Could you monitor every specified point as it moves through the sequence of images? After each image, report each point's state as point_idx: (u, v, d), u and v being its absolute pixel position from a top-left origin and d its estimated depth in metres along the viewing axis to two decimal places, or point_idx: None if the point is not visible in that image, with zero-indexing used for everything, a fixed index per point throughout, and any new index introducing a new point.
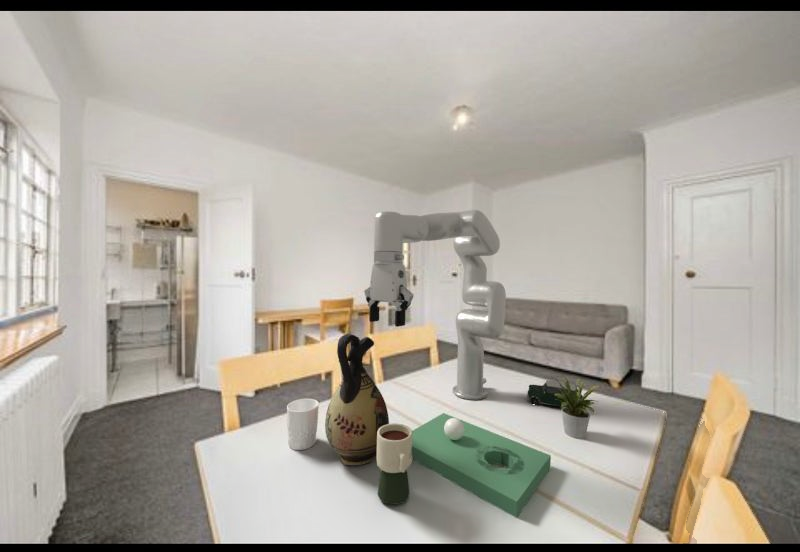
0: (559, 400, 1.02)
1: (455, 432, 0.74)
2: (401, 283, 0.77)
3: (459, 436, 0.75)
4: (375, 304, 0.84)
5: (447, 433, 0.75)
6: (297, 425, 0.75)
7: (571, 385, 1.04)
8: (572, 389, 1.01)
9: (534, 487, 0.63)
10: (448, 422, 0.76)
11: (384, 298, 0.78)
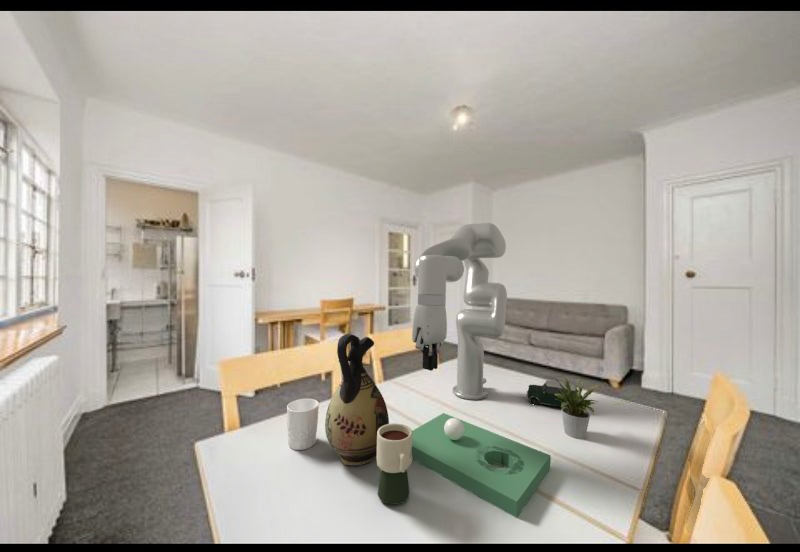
0: (559, 400, 1.02)
1: (455, 432, 0.74)
2: None
3: (459, 436, 0.75)
4: None
5: (447, 433, 0.75)
6: (297, 425, 0.75)
7: (571, 385, 1.04)
8: (572, 389, 1.01)
9: (534, 487, 0.63)
10: (448, 422, 0.76)
11: (439, 339, 0.81)
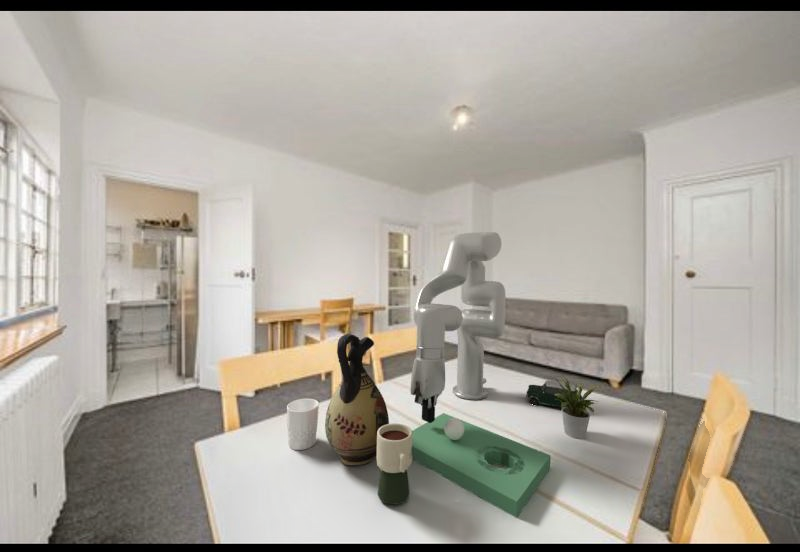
0: (558, 400, 1.01)
1: (455, 432, 0.74)
2: None
3: (459, 436, 0.75)
4: None
5: (447, 433, 0.75)
6: (297, 425, 0.75)
7: (570, 385, 1.03)
8: (571, 389, 1.01)
9: (534, 487, 0.63)
10: (448, 422, 0.76)
11: (437, 391, 0.81)
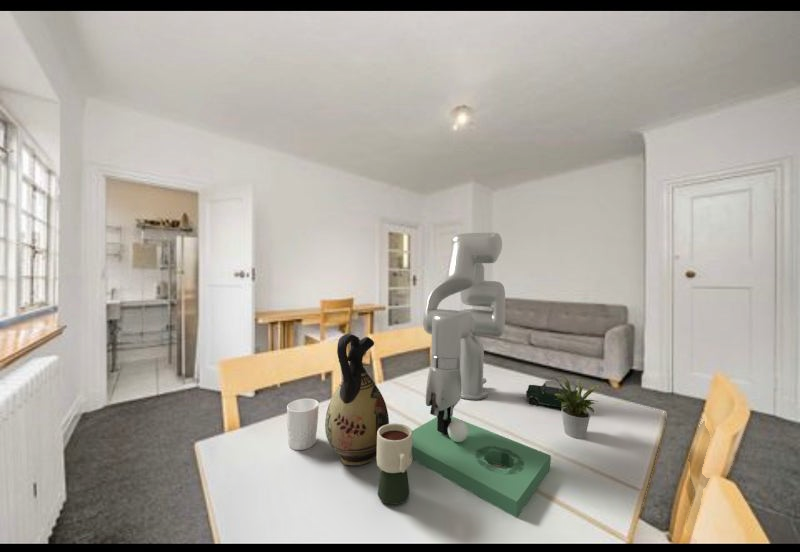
0: (558, 400, 1.01)
1: (459, 437, 0.73)
2: None
3: (461, 441, 0.74)
4: None
5: (450, 434, 0.74)
6: (297, 425, 0.75)
7: (570, 386, 1.03)
8: (571, 390, 1.01)
9: (534, 487, 0.63)
10: (454, 425, 0.75)
11: (454, 402, 0.78)
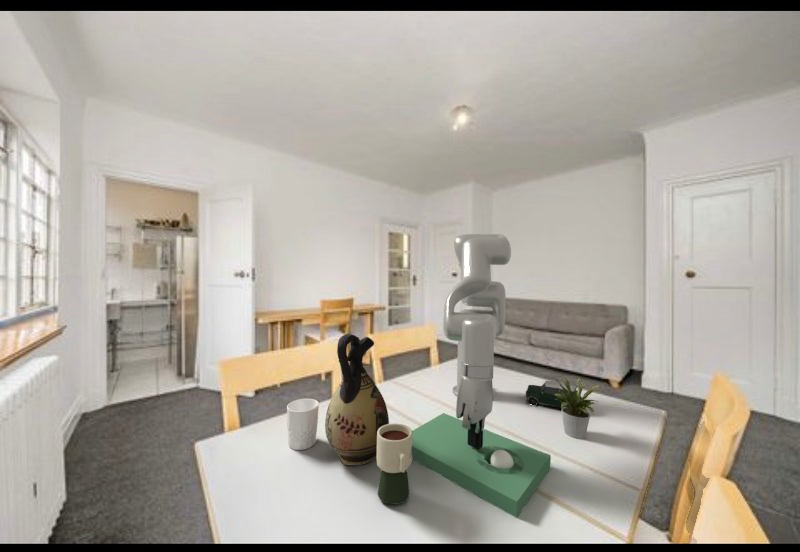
0: (557, 401, 1.01)
1: (509, 456, 0.67)
2: None
3: (513, 461, 0.68)
4: None
5: (504, 464, 0.66)
6: (297, 425, 0.75)
7: (570, 386, 1.03)
8: None
9: (534, 487, 0.63)
10: (495, 455, 0.68)
11: (486, 413, 0.72)
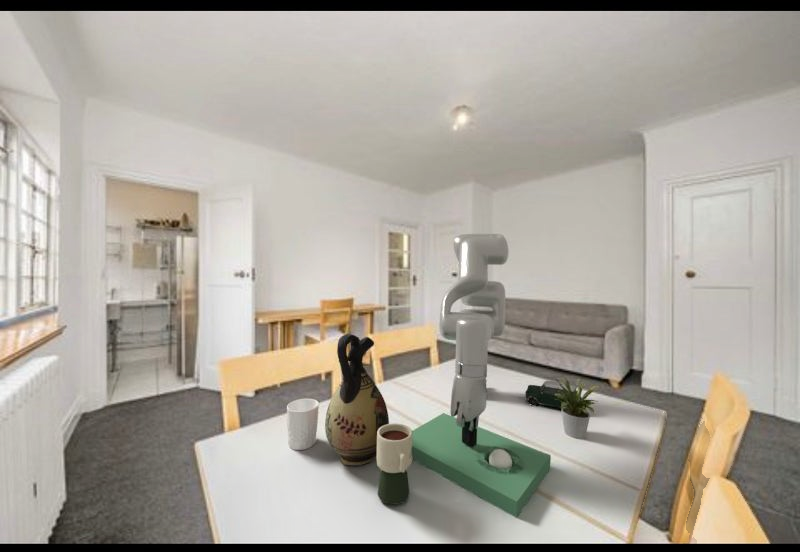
0: (557, 401, 1.01)
1: (506, 454, 0.68)
2: None
3: None
4: None
5: (502, 462, 0.66)
6: (297, 425, 0.75)
7: None
8: None
9: (534, 487, 0.63)
10: (493, 454, 0.68)
11: (480, 411, 0.73)
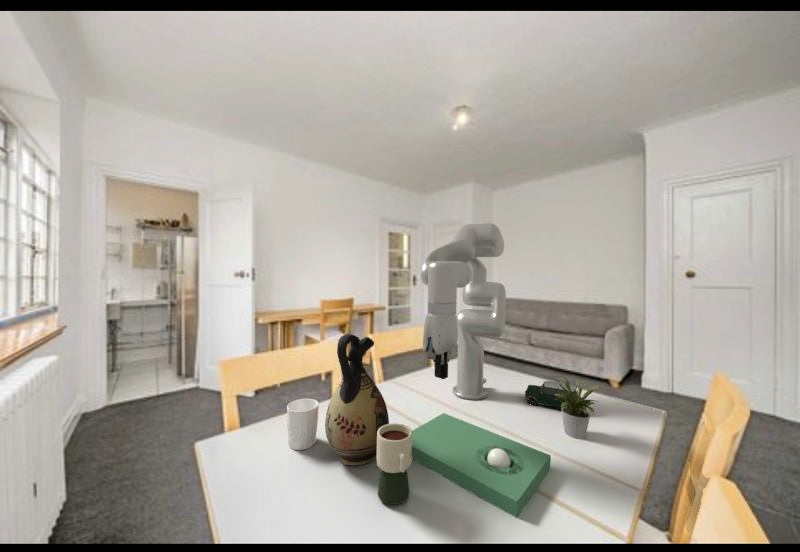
0: (556, 401, 1.01)
1: (502, 451, 0.68)
2: None
3: (508, 456, 0.68)
4: None
5: (499, 460, 0.67)
6: (297, 425, 0.75)
7: None
8: None
9: (534, 487, 0.63)
10: (490, 454, 0.69)
11: (450, 347, 0.80)
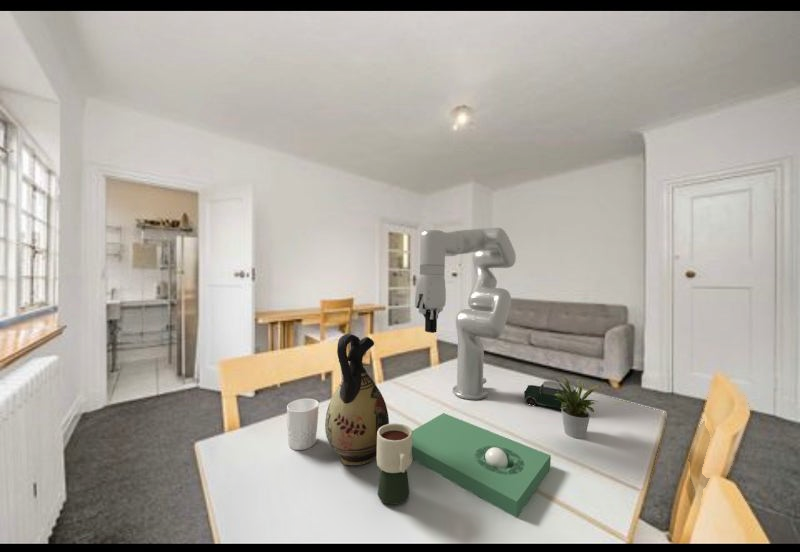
0: (555, 401, 1.01)
1: (497, 449, 0.69)
2: None
3: (503, 452, 0.69)
4: None
5: (495, 458, 0.67)
6: (297, 425, 0.75)
7: None
8: None
9: (534, 487, 0.63)
10: (486, 454, 0.70)
11: (439, 305, 0.91)
